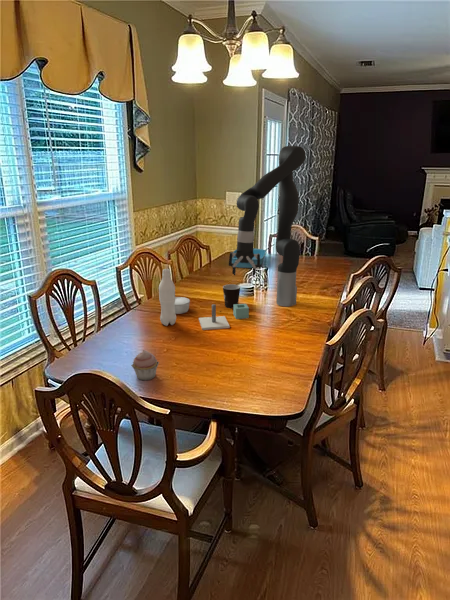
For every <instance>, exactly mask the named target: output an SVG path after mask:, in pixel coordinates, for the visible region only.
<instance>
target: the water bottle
mask: <svg viewBox="0 0 450 600" xmlns="http://www.w3.org/2000/svg"><path fill="white" fill-rule="evenodd" d="M161 275H162V278H161V281H160V283H159V285H158V295H159V296H158V297H159V298H158V299H159V304H160V310H161V311H160V316H159V319H160V320H159V321H160V322H161V324H162V325H163V326H166V327H167V326H168V325H169V324H170V325H171V326H173V325H174V324H175V323H176V320H177V314H175V309H174V304H175V300H176V299H175V297H176V286H175V283H174V281H173V280H172V278H171V271H170V269H169V268H164V269H162V274H161Z"/></svg>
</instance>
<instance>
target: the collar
mask: <svg viewBox="0 0 450 600" xmlns="http://www.w3.org/2000/svg"><path fill="white" fill-rule="evenodd" d="M232 309H233V310H232V311H233V312H232V313H233V316H234V318H235V319H236V320H239V319H241V320H242V319H249V317H250V315H249V314H250V313H249V312H250V310H249V309H250V307H249V306H248V304H247V303H238V304H233V308H232Z"/></svg>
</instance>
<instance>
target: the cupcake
mask: <svg viewBox="0 0 450 600" xmlns="http://www.w3.org/2000/svg"><path fill="white" fill-rule="evenodd" d="M159 364H160V362H159V361H158V359H156V356H155V355H154V354H153V353H152V352H150V351H148V350H146V349H145V350H144V349H143V350H142V352H140V353H138V354H137V355H136V356H135V358H134V359H133V361H132V364H131V368H133V371H134V372H135V375H136V377H137V379H138V380H139V381H150V380H152V379H154V378H155V377H156V375H157V368H158V366H159Z"/></svg>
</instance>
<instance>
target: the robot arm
mask: <svg viewBox="0 0 450 600" xmlns="http://www.w3.org/2000/svg"><path fill="white" fill-rule="evenodd" d="M306 157H307V154H306V151H305V149H304V147H302V146H298V145H297V146H296V145H285V146H283V147H282V148H281V149H280V151H279V154H278V165H277V166H276V167H275V168H274V169H272V170H270V171H268V172H267V173H265V174H264V175H263V176H261V178H260V179H258V181H256V182H255V183H254V184H253V186H251V187H250V188H248V189H247V190H245V191H244V192H242V193H241V194H240V195H239V196H238V198H237V199H236V207H237V209H238V210H240V211H242V212H243V213H244V214H243V216H240V217H239V219H238V231H237V238H236V240H237V241H236V249H237V252H236V253H233V251H230V253H229V260H228V266H229V267H232V272H231V273H232V275H233V276H236V270H237V269H236V268H237V267H235V266H236V265H237V264H238V263H239V262H241V263H249V262H250V264H251V265H252V267H253V268H252V272H251V273H252V274H251V275H252V277H254V276H256V271H257V268H260V266H261V265H260V254H259V253H258V254H254V253H253V248H255V247H254V245H255V222H256V218H257V214H258V211H259V203H260V202H259V200H263V199H264V198H265V197H266V196H267V195H268V194H269V193H270V192H271V191H273V189H275V187H276V186H277V185H278V184H279V195H278V196H279V197H278V198H279V199H278V224H277V225H278V226H277V234H276V240H275V241H276V242H275V251H276V253H277V254H279V256H282V262H281V263H279V264H278V265H277V277H276V278H277V279H276V280H277V281H276V303H275V304H277V306H281V307H293V306H296V305H297V295H298V294H297V293H298V292H297V291H298V286H297V268H298V267H299V263H300V254H301V247H300V243H299V242H298V240H296V239H293V238H292V235H291V234H292V228H293V227H292V226H293V223H294V221H295V219H296V217H297V215H298V212H299V208H300V207H299V204H300V203H299V202H300V196H299V192H298V189H297V186H296V183H295V181H294V175H293V173H294V171H296V170H297V169H298V168H299V167H301V166H302V165H303V164H304V163H305V161H306ZM235 255H236V257H237V260H236V261H235V262H234V264H233V263H232V258H233V257H234V256H235ZM254 256H255V258H256V259H257V264H256V265H255V264H254V262H253V260H252V258H253V257H254Z"/></svg>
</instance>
